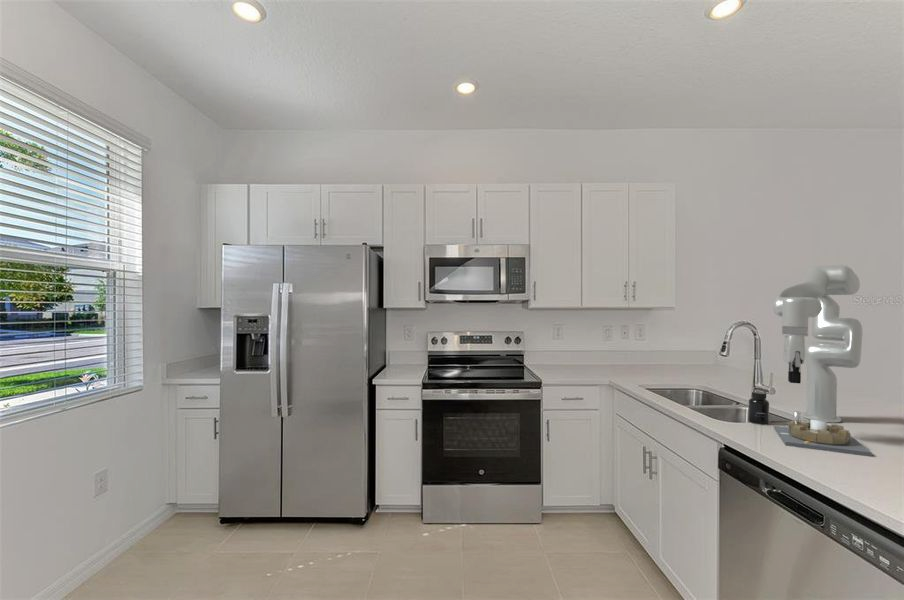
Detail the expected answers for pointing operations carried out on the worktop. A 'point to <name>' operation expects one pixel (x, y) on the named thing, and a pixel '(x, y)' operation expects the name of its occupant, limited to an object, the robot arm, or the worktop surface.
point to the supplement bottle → (758, 409)
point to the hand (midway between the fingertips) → (794, 382)
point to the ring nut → (818, 432)
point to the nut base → (849, 448)
